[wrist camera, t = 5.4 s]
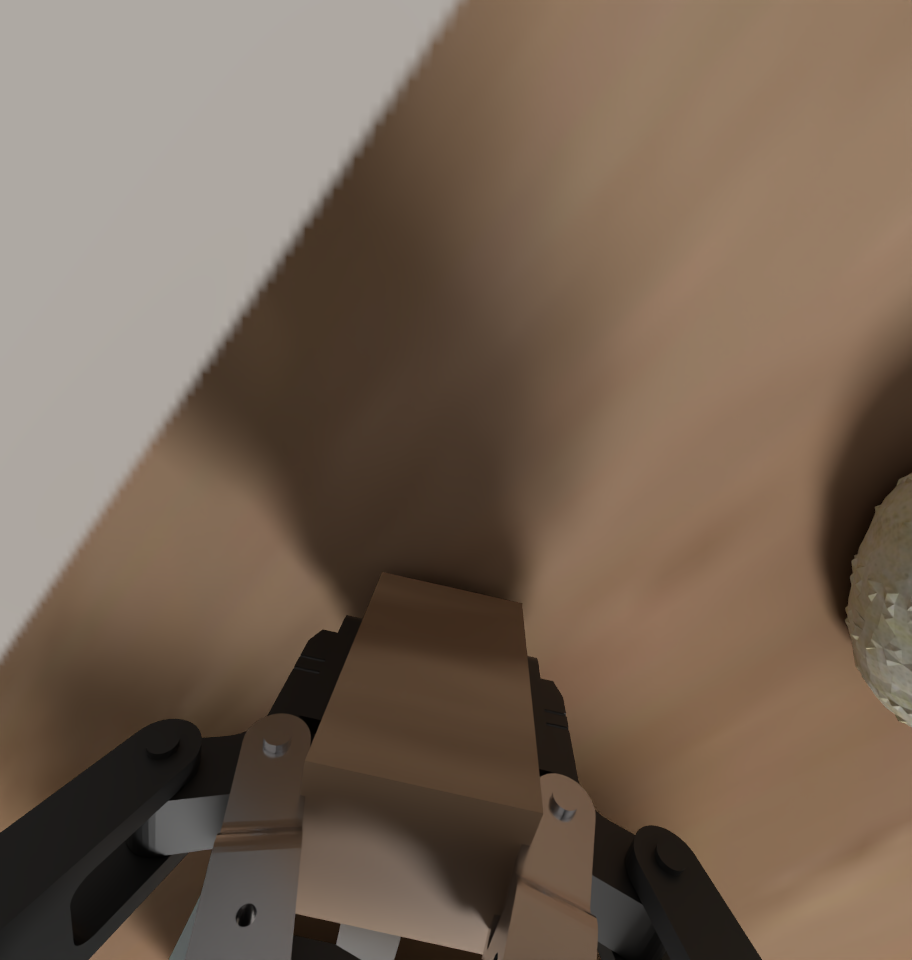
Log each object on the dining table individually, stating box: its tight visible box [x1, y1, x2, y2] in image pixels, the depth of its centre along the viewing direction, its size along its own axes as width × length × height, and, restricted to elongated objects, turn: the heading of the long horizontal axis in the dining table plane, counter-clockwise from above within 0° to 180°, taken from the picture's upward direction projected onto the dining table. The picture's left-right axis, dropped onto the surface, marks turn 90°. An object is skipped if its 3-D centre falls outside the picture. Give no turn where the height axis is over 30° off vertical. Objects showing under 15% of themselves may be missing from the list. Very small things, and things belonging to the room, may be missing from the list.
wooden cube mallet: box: [295, 572, 543, 960], centre depth 14 cm, size 16×4×6 cm, turn 168°
